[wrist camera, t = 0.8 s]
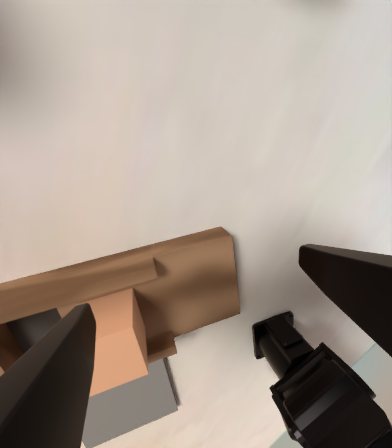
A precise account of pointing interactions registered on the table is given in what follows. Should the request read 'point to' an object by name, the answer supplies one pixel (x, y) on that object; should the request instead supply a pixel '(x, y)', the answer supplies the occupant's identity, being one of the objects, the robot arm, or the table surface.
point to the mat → (129, 406)
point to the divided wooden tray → (125, 279)
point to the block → (118, 341)
